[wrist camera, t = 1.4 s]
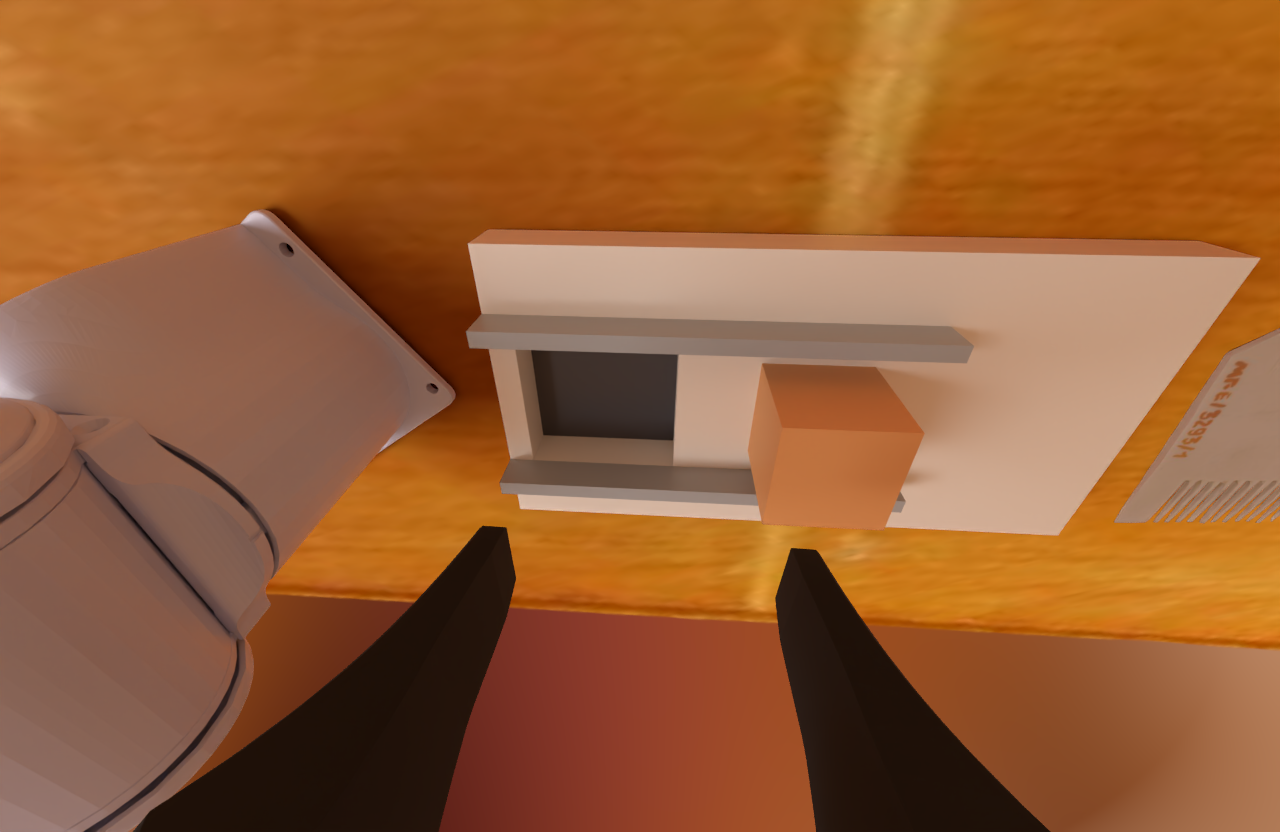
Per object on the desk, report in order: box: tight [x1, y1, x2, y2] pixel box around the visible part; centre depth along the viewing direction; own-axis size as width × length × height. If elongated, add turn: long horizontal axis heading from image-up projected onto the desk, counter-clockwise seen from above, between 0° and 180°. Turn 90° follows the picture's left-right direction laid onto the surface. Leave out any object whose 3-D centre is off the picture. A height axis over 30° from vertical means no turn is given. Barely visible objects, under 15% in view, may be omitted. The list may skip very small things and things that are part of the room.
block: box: [748, 363, 925, 530], centre depth 16 cm, size 4×4×4 cm
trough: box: [466, 229, 1261, 535], centre depth 18 cm, size 24×12×4 cm, turn 90°
